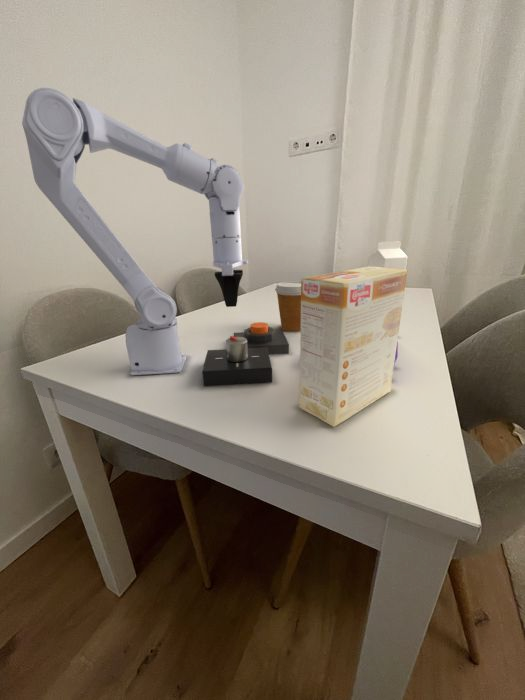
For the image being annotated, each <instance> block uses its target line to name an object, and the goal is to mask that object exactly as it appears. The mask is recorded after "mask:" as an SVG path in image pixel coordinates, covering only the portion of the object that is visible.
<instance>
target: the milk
mask: <svg viewBox="0 0 525 700" xmlns="http://www.w3.org/2000/svg"><path fill="white" fill-rule="evenodd" d="M401 246H402V243H401V241H399V240H397V241H379V242H378V243H377V247H376V248H377V249H376V250H375V251H374V252H372V253H371V254H370V255H369V256H368V261H367V262H368V264H367V267H380V268H388V269H399V270H407V267H408V265H407V264H408V258H409V257H408V255H407V254H406V252H404V251H403V250H402V249H401Z"/></svg>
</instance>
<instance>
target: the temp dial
mask: <svg viewBox="0 0 525 700" xmlns="http://www.w3.org/2000/svg"><path fill="white" fill-rule="evenodd" d="M224 342H225V343H224V344H225V349H226V357H227V360H228V361H231V362H241V361H244V360H246V359H247V358H248V346H247V339H246V338H243V337H234V335H230V336H229V337H228V338H227V339H225V341H224Z"/></svg>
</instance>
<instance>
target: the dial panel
mask: <svg viewBox="0 0 525 700" xmlns="http://www.w3.org/2000/svg"><path fill="white" fill-rule="evenodd" d="M205 355H206V356H205V360H204V362H203V367H202V371H201V372H202V382H203V387H205V388H206V387H222V386H239V385H253V384H254V385H255V384H258V385H259V384H271V383H273V366H272V362H271V359H270V355H269V354H268V350H267V347H260V348H248V358H247V359H246V360H244V361H241V362H231V361H228V360H227V357H226V348H225V349H224V348H223V349H207V351H206V354H205Z"/></svg>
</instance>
